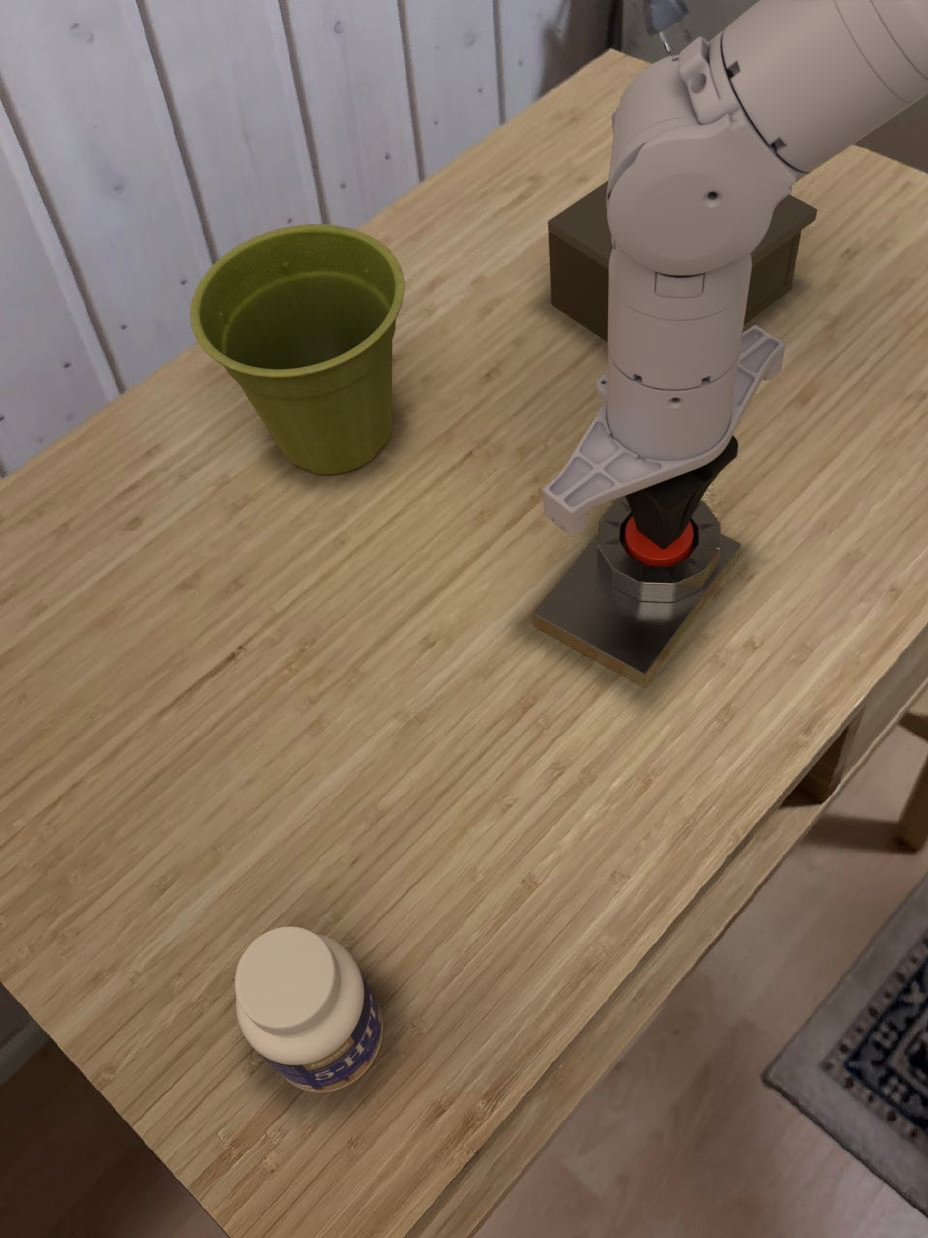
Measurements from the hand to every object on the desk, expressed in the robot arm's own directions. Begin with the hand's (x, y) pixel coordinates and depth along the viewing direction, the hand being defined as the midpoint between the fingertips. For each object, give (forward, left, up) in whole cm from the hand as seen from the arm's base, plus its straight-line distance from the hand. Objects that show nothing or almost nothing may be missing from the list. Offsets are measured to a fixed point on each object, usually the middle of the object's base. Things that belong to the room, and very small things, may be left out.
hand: (658, 532), depth 61 cm
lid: (+10, -19, +3) cm, 22 cm away
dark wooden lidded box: (+11, -19, -3) cm, 22 cm away
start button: (0, 0, -2) cm, 2 cm away
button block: (0, +2, -3) cm, 4 cm away
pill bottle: (-1, +30, -3) cm, 30 cm away
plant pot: (+22, +2, -3) cm, 22 cm away
